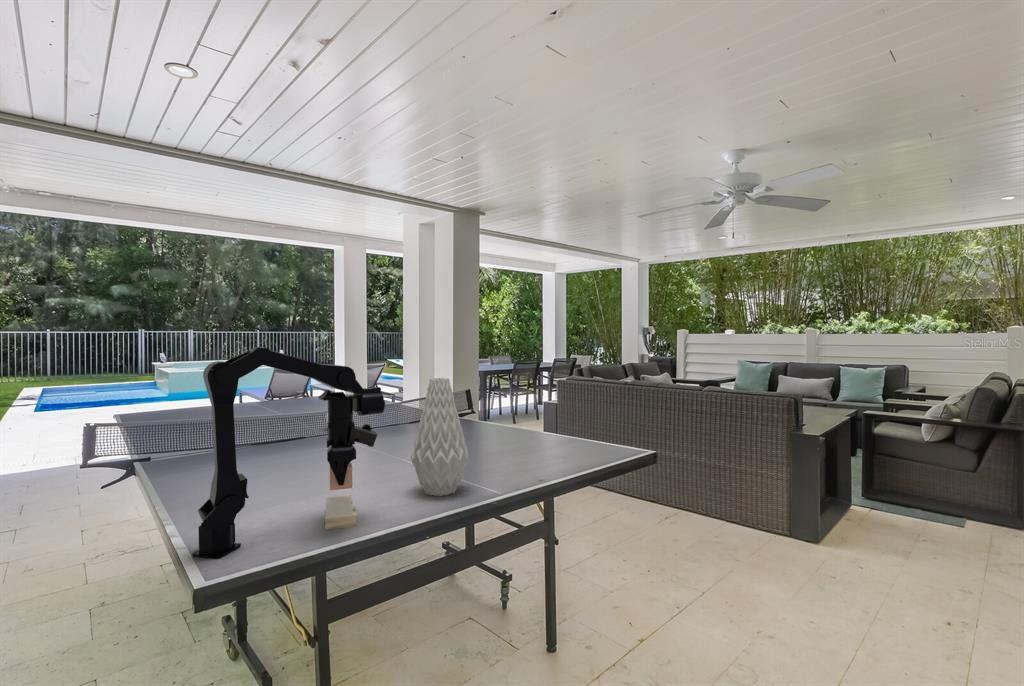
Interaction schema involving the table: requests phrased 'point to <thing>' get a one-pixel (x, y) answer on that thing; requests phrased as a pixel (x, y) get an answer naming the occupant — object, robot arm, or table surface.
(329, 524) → the tower base block
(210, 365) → the robot arm
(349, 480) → the terracotta cube
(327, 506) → the tower top block
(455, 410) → the vase
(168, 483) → the table surface
